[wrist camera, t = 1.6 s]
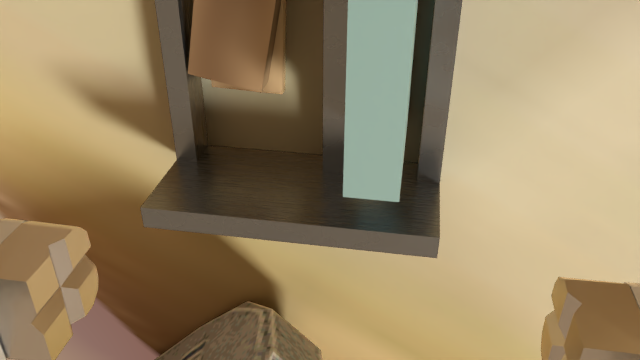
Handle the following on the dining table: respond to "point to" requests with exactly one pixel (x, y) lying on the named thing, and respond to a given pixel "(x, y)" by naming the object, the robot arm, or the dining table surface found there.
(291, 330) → the decorative stone tablet
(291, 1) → the dining table surface
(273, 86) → the offcut oak
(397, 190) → the teal sheet
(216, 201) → the offcut rack
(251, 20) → the offcut walnut
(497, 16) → the dining table surface
